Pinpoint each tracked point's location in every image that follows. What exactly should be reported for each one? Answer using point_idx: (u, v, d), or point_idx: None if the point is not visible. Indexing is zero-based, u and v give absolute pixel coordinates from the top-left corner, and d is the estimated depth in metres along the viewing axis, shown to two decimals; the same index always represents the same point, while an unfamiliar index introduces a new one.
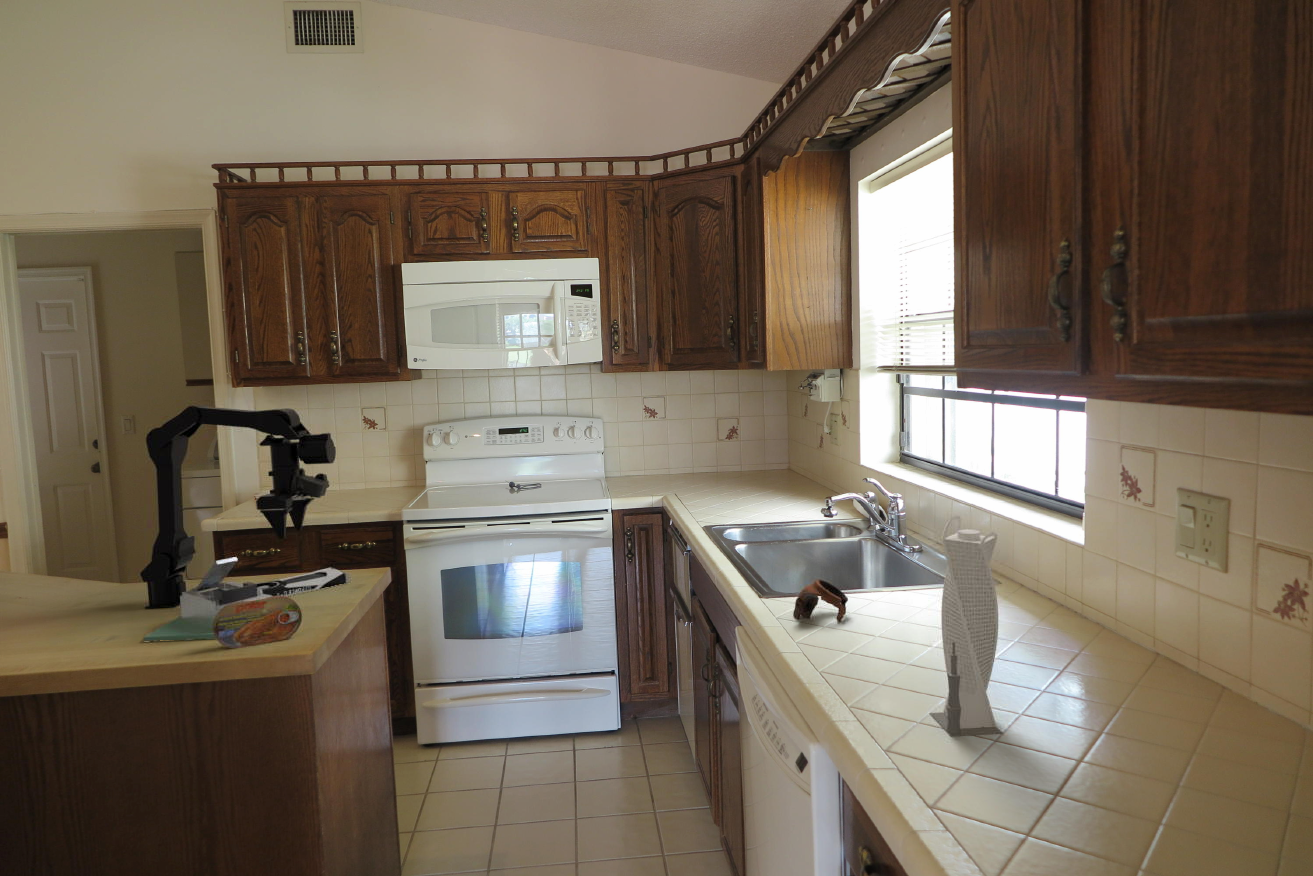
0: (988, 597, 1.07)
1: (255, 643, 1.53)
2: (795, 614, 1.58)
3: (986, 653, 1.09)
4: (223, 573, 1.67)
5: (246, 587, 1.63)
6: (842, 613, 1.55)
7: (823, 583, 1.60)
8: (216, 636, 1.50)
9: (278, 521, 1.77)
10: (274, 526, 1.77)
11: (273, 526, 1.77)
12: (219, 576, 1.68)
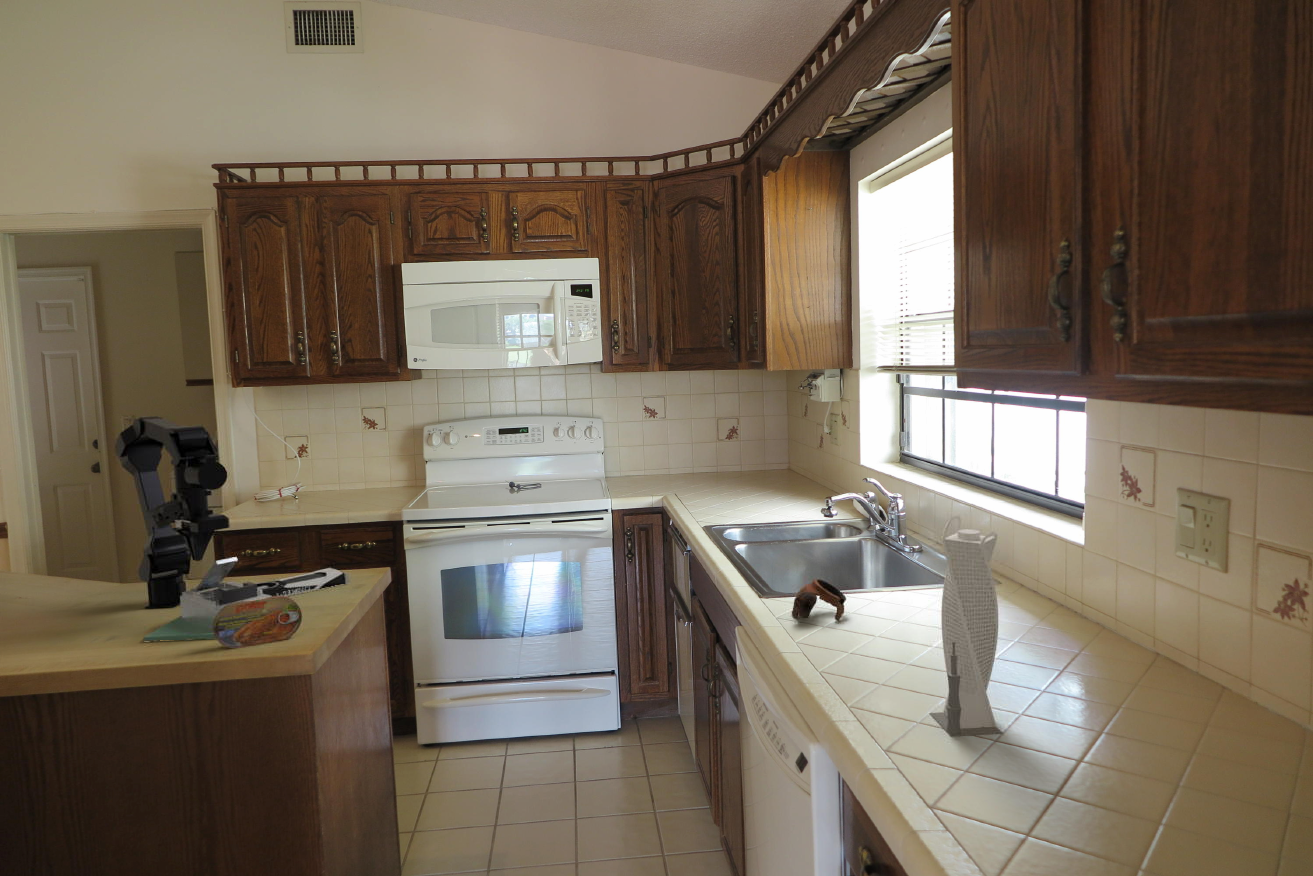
0: (988, 597, 1.07)
1: (255, 643, 1.53)
2: (793, 613, 1.58)
3: (986, 653, 1.09)
4: (223, 573, 1.67)
5: (246, 587, 1.63)
6: (840, 612, 1.56)
7: (821, 582, 1.61)
8: (216, 636, 1.50)
9: None
10: None
11: None
12: (219, 576, 1.68)
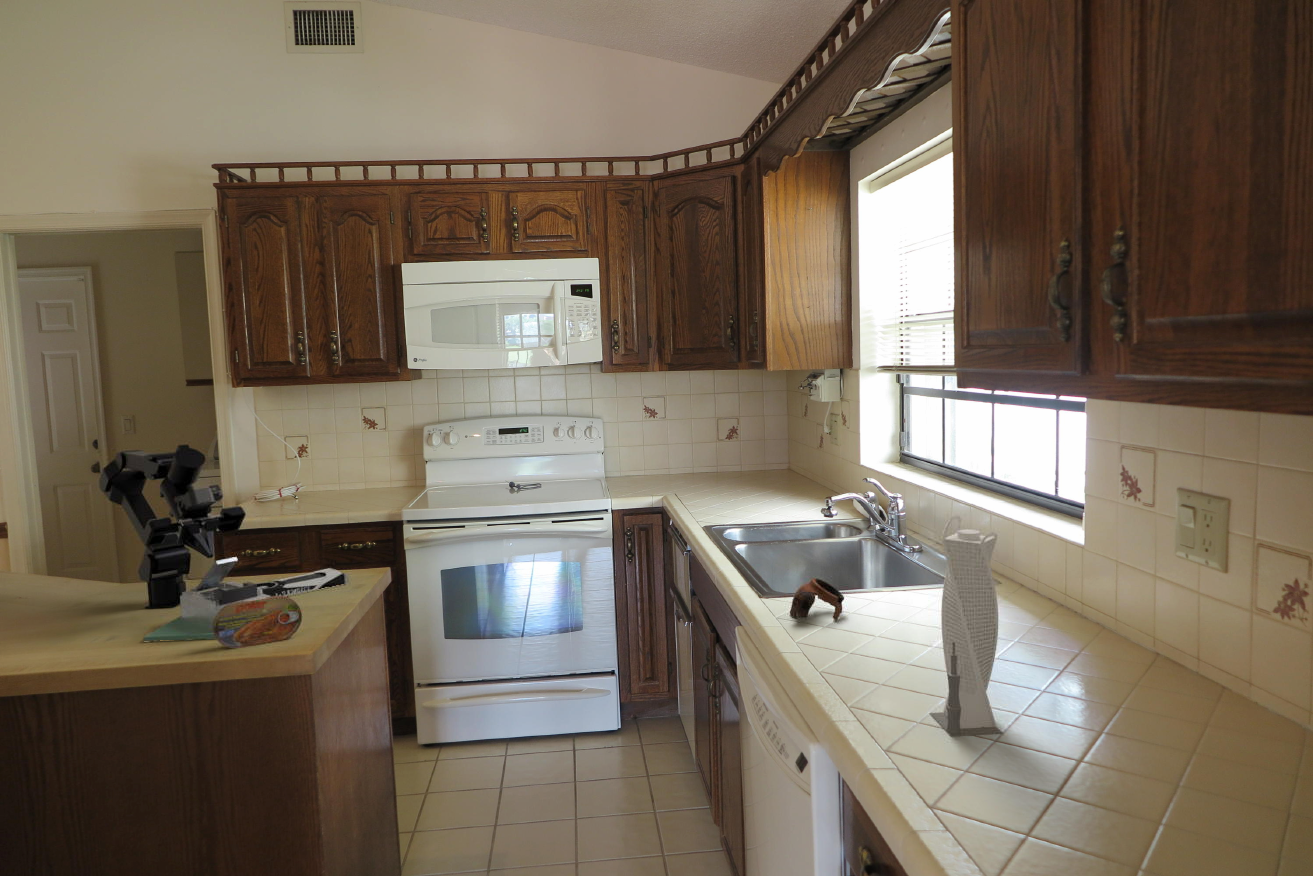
0: (988, 597, 1.07)
1: (255, 643, 1.53)
2: (792, 613, 1.59)
3: (986, 653, 1.09)
4: (223, 573, 1.67)
5: (246, 587, 1.63)
6: (838, 611, 1.56)
7: (819, 582, 1.61)
8: (216, 636, 1.50)
9: (196, 542, 1.68)
10: (197, 549, 1.68)
11: (197, 550, 1.68)
12: (219, 576, 1.68)
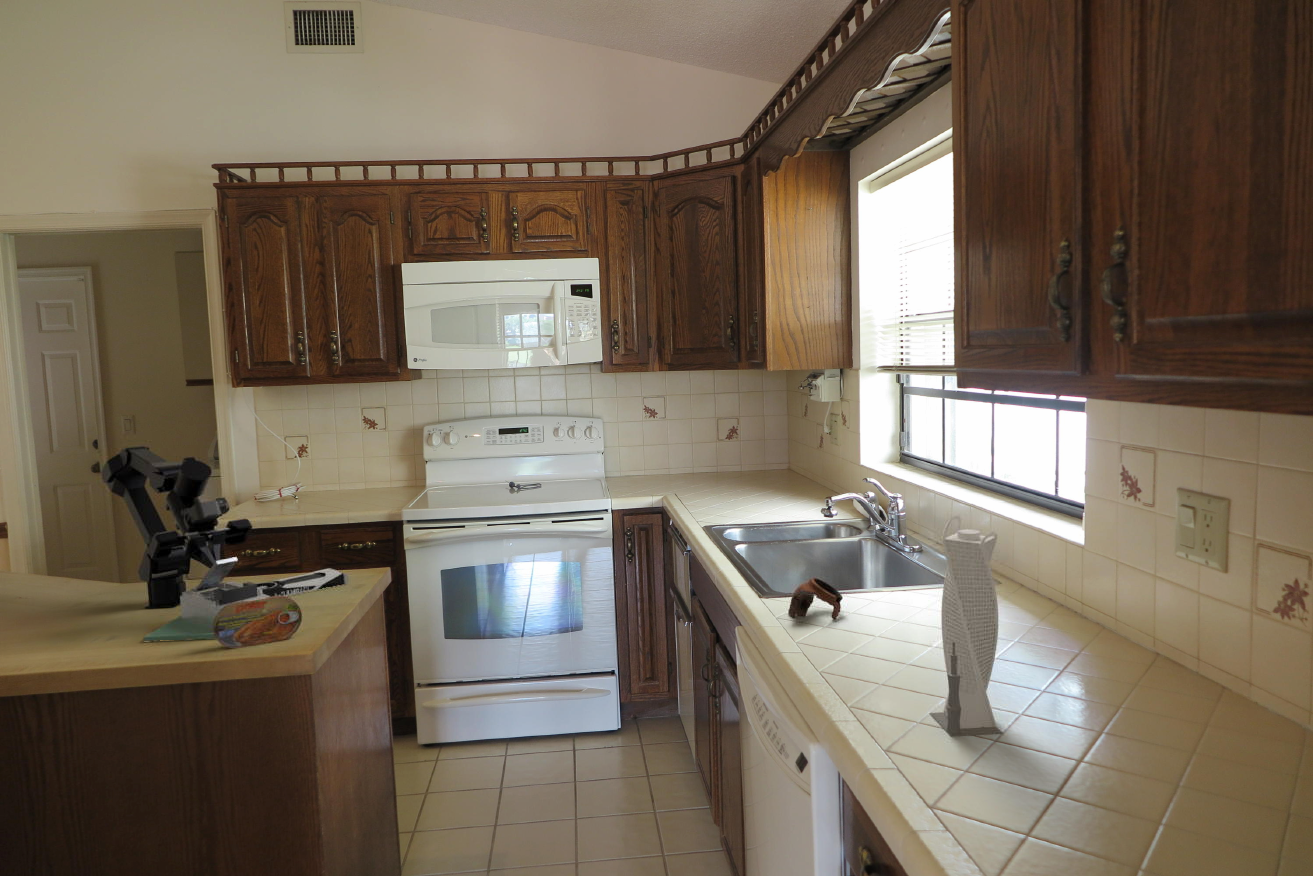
0: (988, 597, 1.07)
1: (255, 643, 1.53)
2: (790, 612, 1.59)
3: (986, 653, 1.09)
4: (223, 573, 1.67)
5: (246, 587, 1.63)
6: (837, 611, 1.57)
7: (818, 581, 1.62)
8: (216, 636, 1.50)
9: (203, 556, 1.67)
10: (204, 562, 1.67)
11: (204, 563, 1.67)
12: (220, 576, 1.68)
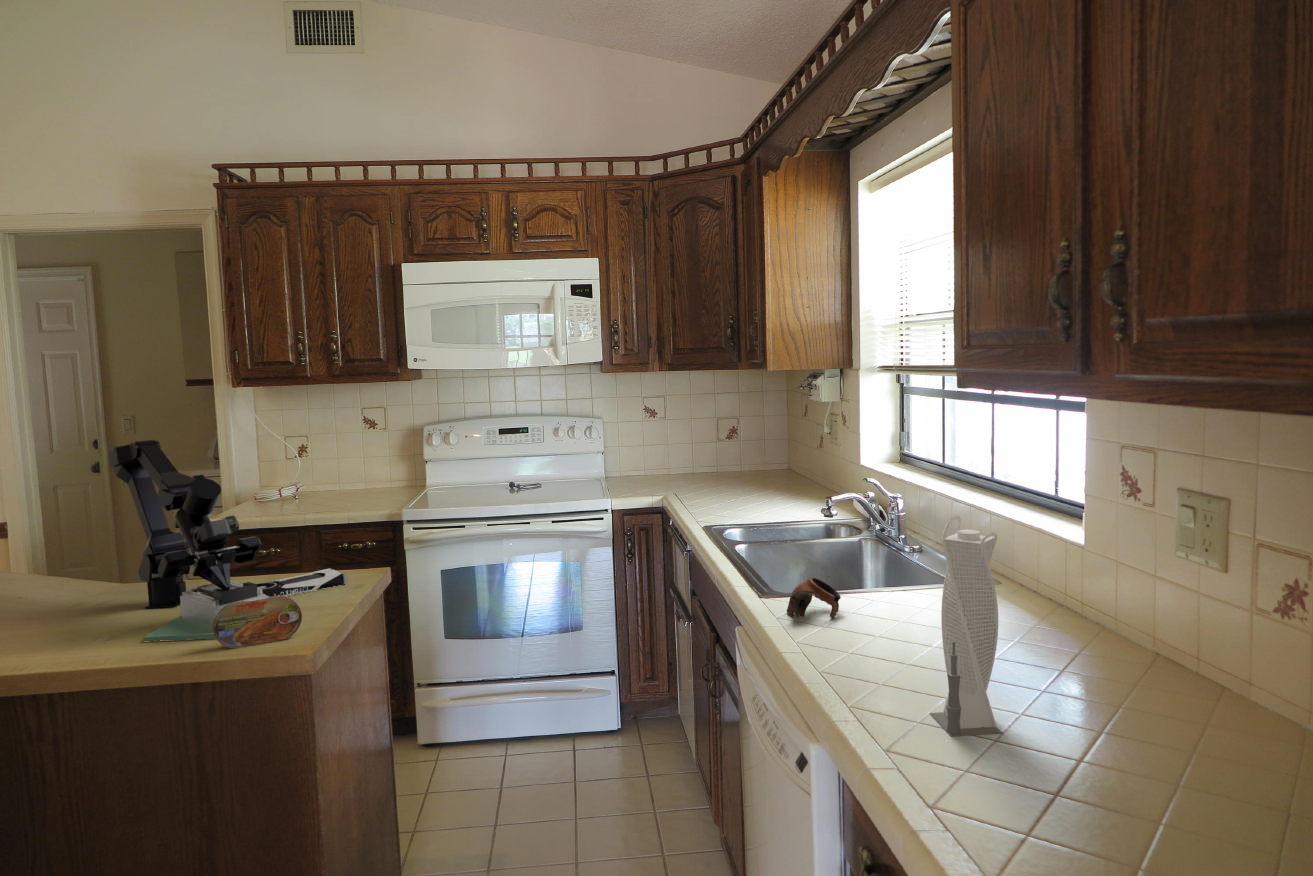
0: (988, 597, 1.07)
1: (255, 643, 1.53)
2: (789, 612, 1.60)
3: (986, 653, 1.09)
4: None
5: (246, 587, 1.63)
6: (835, 610, 1.57)
7: (816, 581, 1.62)
8: (216, 636, 1.50)
9: (213, 575, 1.65)
10: (214, 582, 1.65)
11: (213, 582, 1.65)
12: None
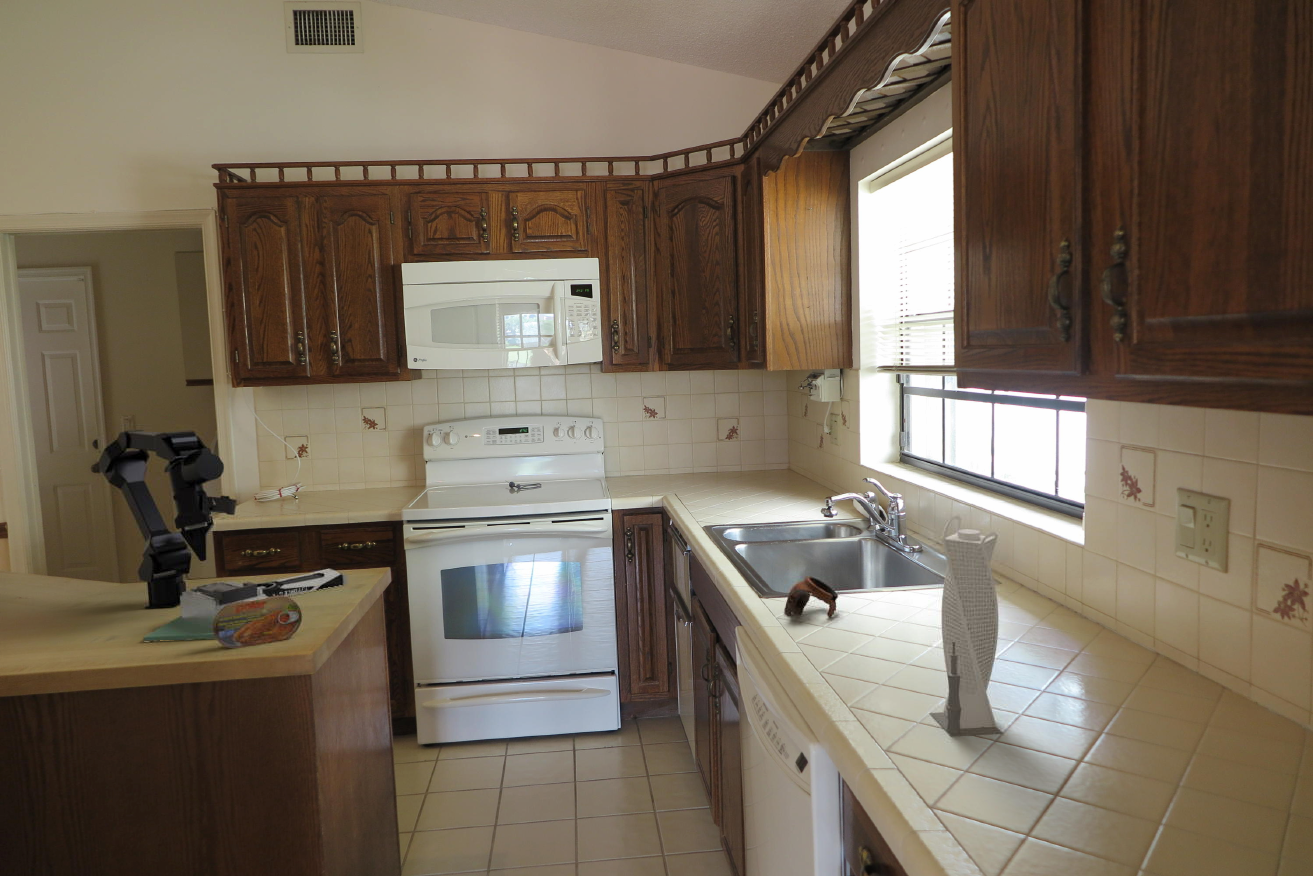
0: (988, 597, 1.07)
1: (255, 643, 1.53)
2: (786, 611, 1.60)
3: (986, 653, 1.09)
4: None
5: (246, 587, 1.63)
6: (833, 609, 1.58)
7: (813, 580, 1.63)
8: (216, 636, 1.50)
9: (198, 541, 1.72)
10: (194, 548, 1.72)
11: (193, 548, 1.72)
12: None
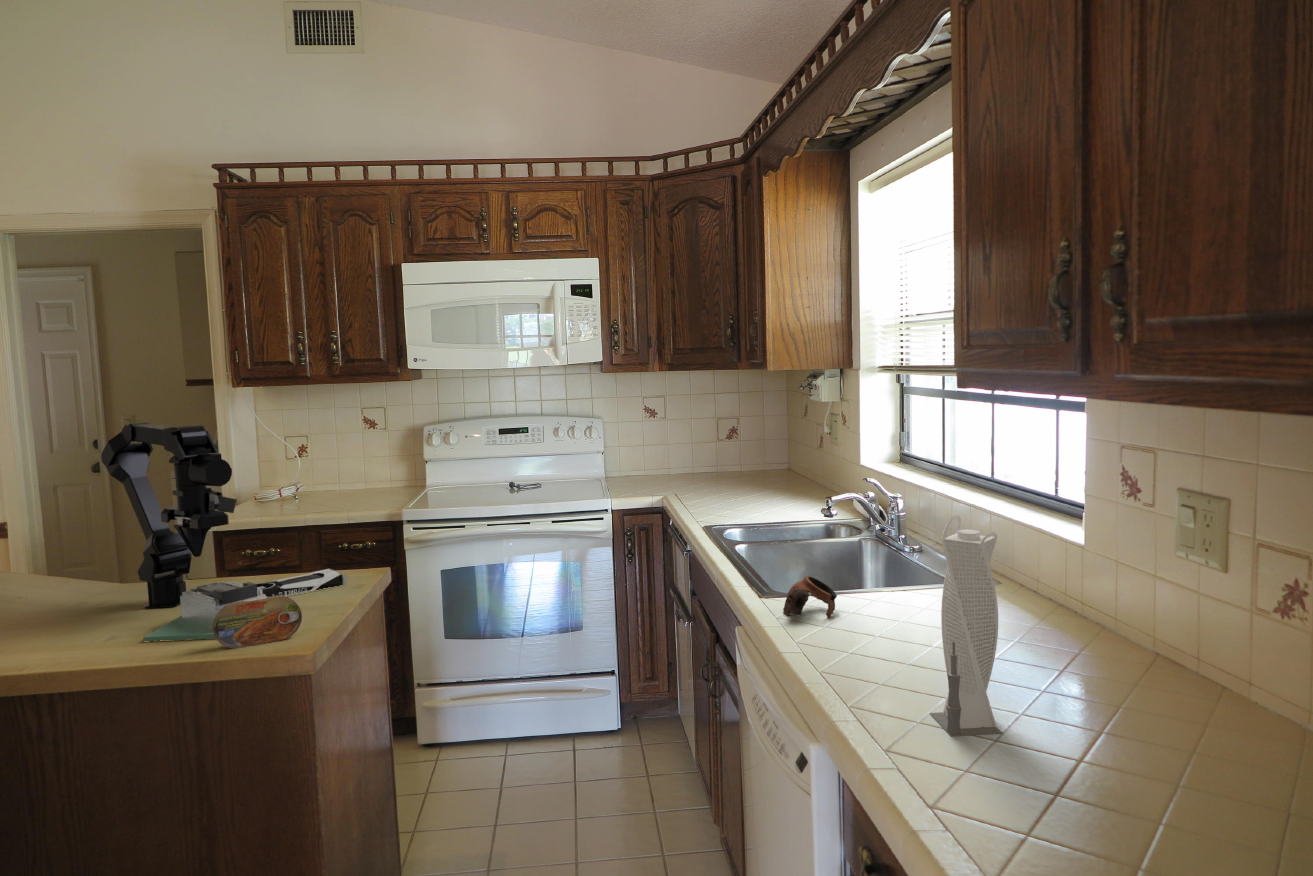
0: (988, 597, 1.07)
1: (255, 643, 1.53)
2: (785, 610, 1.60)
3: (986, 653, 1.09)
4: None
5: (246, 587, 1.63)
6: (832, 609, 1.58)
7: (812, 580, 1.63)
8: (216, 636, 1.50)
9: (198, 538, 1.74)
10: (194, 544, 1.74)
11: (193, 544, 1.74)
12: None
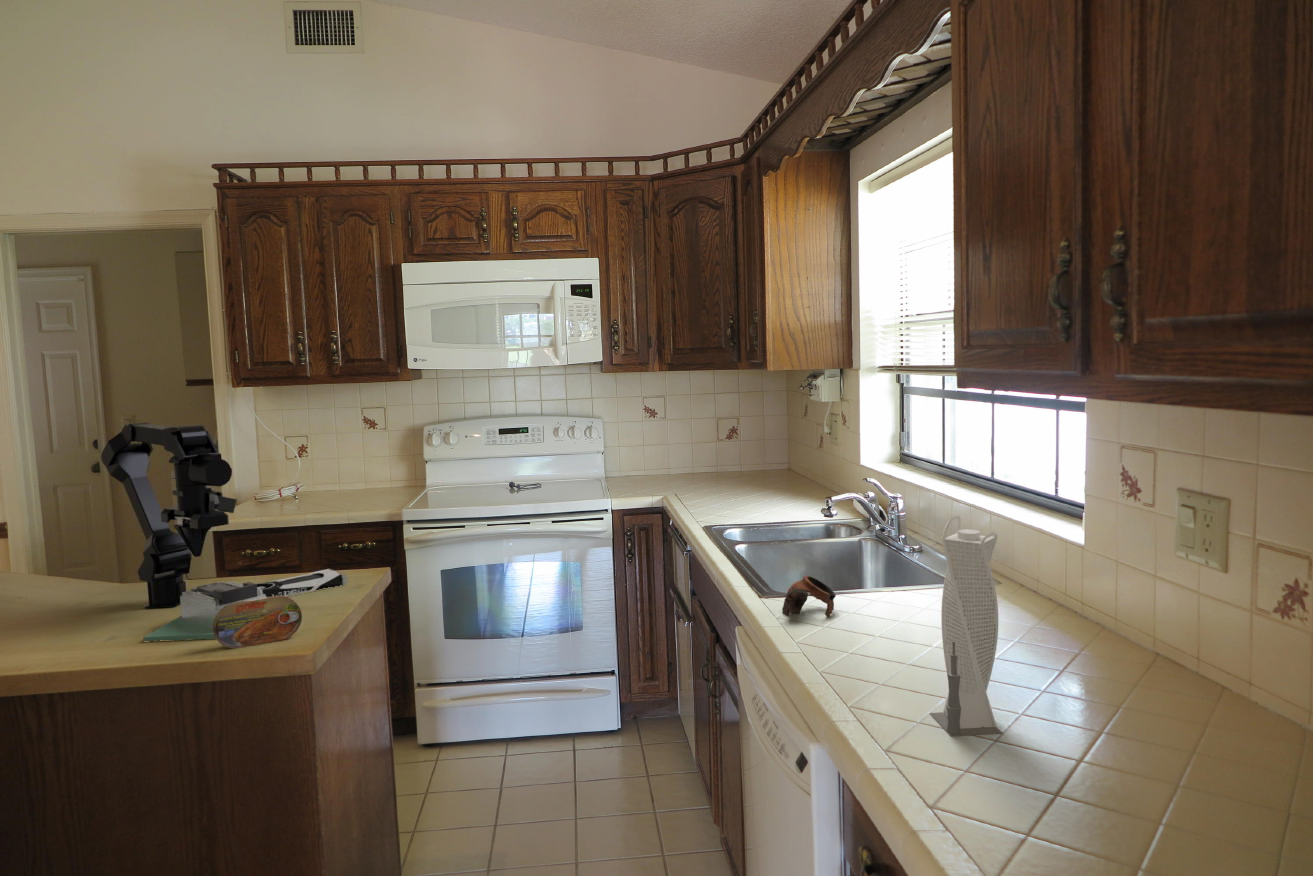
0: (988, 597, 1.07)
1: (255, 643, 1.53)
2: (784, 610, 1.61)
3: (986, 653, 1.09)
4: None
5: (246, 587, 1.63)
6: (830, 608, 1.58)
7: (811, 579, 1.63)
8: (216, 636, 1.50)
9: (198, 538, 1.74)
10: (194, 544, 1.74)
11: (193, 544, 1.74)
12: None
